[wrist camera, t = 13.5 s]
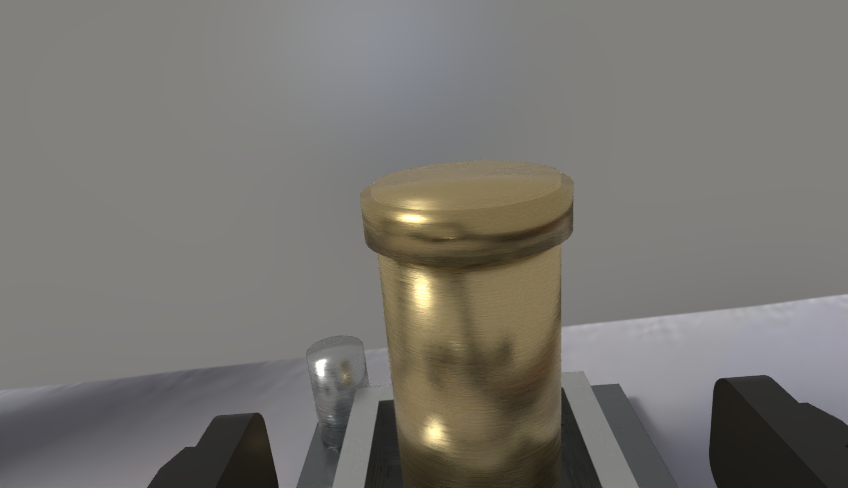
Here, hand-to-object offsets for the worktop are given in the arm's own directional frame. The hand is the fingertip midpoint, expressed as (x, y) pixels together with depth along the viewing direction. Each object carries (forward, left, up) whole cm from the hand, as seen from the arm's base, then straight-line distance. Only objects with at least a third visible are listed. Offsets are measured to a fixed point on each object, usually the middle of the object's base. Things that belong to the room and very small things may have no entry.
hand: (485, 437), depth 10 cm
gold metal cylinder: (0, +6, -8) cm, 11 cm away
